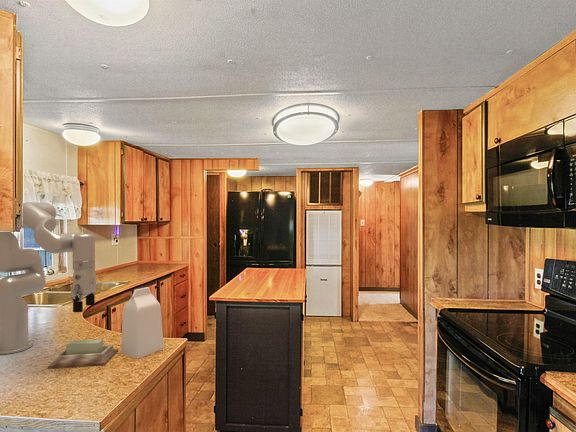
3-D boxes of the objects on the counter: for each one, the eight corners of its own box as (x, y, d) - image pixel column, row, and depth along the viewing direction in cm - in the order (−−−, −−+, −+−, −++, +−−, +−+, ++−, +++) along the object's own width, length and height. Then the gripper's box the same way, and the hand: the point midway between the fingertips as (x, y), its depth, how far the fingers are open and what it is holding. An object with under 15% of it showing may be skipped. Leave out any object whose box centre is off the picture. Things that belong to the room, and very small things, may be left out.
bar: (98, 358, 129) (98, 343, 129) (66, 359, 128) (65, 344, 128) (103, 354, 133) (103, 339, 133) (72, 355, 132) (71, 340, 132)
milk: (138, 358, 131) (137, 293, 131) (121, 352, 137) (120, 289, 137) (163, 348, 141) (163, 287, 141) (147, 343, 147) (146, 284, 147)
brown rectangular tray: (47, 368, 123) (47, 359, 123) (66, 354, 136) (66, 345, 136) (104, 365, 125) (104, 356, 125) (118, 351, 138) (118, 343, 138)
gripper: (83, 268, 122) (83, 314, 122) (103, 262, 140) (104, 302, 140) (61, 268, 122) (61, 315, 122) (84, 262, 139) (85, 303, 139)
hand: (84, 308), depth 131 cm, fingers open, 9 cm apart
